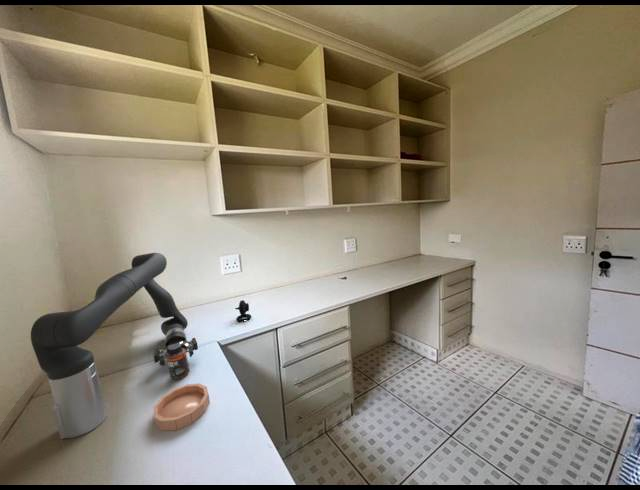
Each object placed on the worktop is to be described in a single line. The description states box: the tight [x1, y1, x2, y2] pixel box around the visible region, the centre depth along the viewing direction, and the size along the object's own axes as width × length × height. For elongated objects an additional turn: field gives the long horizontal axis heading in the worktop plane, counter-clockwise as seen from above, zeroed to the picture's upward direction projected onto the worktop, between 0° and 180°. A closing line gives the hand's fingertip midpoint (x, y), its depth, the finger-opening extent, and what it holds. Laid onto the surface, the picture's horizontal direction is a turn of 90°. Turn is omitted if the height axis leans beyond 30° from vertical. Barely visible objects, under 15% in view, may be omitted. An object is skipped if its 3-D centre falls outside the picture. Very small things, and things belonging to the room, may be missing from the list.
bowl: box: [152, 382, 211, 432], centre depth 75 cm, size 14×14×3 cm
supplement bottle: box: [166, 343, 190, 381], centre depth 91 cm, size 6×6×11 cm
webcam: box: [235, 299, 252, 322], centre depth 133 cm, size 8×8×10 cm
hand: (177, 358), depth 91 cm, fingers open, 8 cm apart
